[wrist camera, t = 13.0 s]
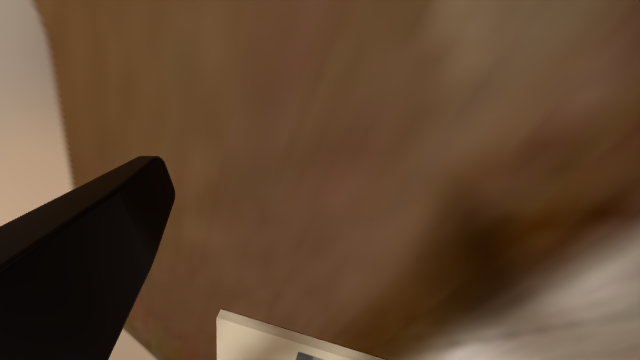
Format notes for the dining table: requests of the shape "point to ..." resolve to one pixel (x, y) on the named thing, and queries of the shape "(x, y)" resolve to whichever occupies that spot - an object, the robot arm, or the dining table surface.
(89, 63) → the dining table surface
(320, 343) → the shaft station
